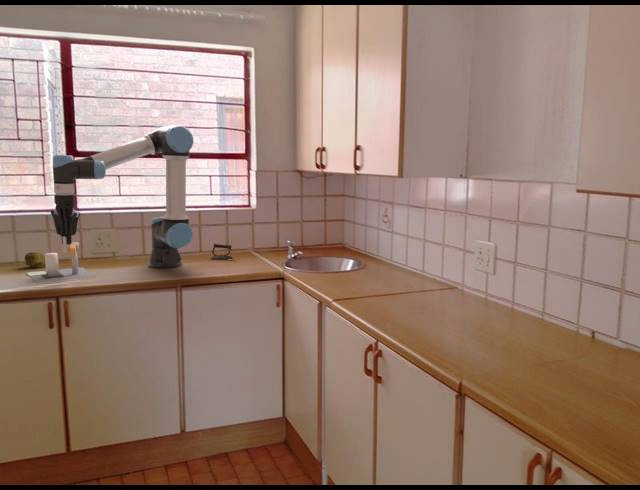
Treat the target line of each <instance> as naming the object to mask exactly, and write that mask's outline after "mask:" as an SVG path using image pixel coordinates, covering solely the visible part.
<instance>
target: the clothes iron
mask: <svg viewBox="0 0 640 490" xmlns="http://www.w3.org/2000/svg"><path fill="white" fill-rule="evenodd" d="M216 248H217V249H219V248H220V249H229V251H228V253H227V254H224V255H223V254H215V252H214V251H215V249H216ZM231 251H232V244H219V243H213V248H212V251H211V254H212V257H211V258H210V259H209V260H228V259H233V260H234V258H233V257H232V256H231V255H230V253H231ZM229 255H230V256H229ZM228 261H229V260H228Z"/></svg>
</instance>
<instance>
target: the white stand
mask: <svg viewBox="0 0 640 490" xmlns="http://www.w3.org/2000/svg"><path fill="white" fill-rule="evenodd" d="M70 257H71V268H62V269H59V275H57V276H46V274H42V276H32V277H29V278H30V279H32V280H33V282H35V283H41V284H39V285H42V283H46V282H47V283H48V282H49V283H50V282H52V281H53V282H54V281H58V282H56V283H57V284H58V283H59V281H61V280H62V281H63V280H72V279H79V278H83V279H81V280H84V278H88V277H89V279H90V280H91V279H92V278H90V277H95V276H96V275H95V274H94V273H92V272H90V271H89V270H88V269H85V268H84V267H82V266H81V267H80V266H79V261H78V250H76V255H75V256H70ZM44 271H45V272H46V270H44ZM27 273H28V272H26V273H25V274H26V275H27ZM73 281H76V280H72V282H73ZM64 282H67V281H64ZM49 283H48V284H49Z"/></svg>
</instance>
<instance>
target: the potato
mask: <svg viewBox="0 0 640 490" xmlns="http://www.w3.org/2000/svg"><path fill="white" fill-rule="evenodd" d="M24 262H25V265H27V266H29V267H31V268H39V269H40V268H41V269H42V268H43V269H44V268H46V264H45V254H42V253H40V252H37V251H31V252H28V253H26V254H25V255H24Z"/></svg>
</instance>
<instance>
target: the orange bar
mask: <svg viewBox="0 0 640 490" xmlns="http://www.w3.org/2000/svg"><path fill="white" fill-rule="evenodd" d="M71 242H72V243H71V244H70V245H71V247H70V252H69V254H70V257H71V256H75V255H76V250H77V251H80V243H79V242H77V241H71Z"/></svg>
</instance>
